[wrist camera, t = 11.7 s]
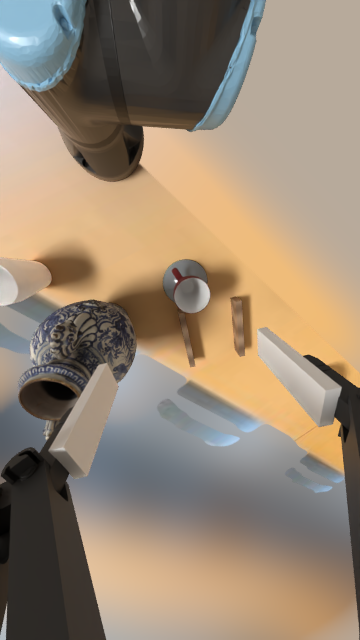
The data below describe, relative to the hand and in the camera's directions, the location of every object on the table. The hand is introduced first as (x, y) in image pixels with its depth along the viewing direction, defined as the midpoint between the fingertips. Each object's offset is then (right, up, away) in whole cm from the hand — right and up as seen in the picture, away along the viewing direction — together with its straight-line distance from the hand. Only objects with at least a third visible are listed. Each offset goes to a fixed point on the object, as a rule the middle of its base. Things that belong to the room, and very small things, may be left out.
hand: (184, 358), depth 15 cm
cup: (-36, +15, +28) cm, 48 cm away
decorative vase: (-20, +3, +34) cm, 40 cm away
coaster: (+1, +13, +31) cm, 34 cm away
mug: (+1, +13, +31) cm, 33 cm away
